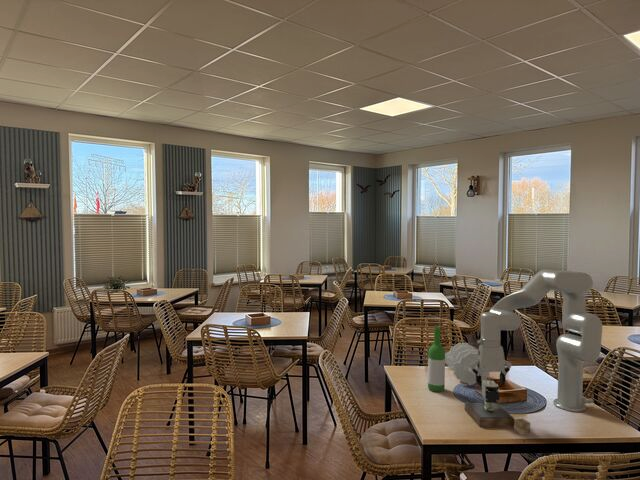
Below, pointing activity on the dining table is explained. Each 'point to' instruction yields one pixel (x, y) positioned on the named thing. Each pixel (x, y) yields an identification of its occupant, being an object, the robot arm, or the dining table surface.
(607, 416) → the dining table surface
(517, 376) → the dining table surface
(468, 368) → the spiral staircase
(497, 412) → the stand
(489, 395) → the pneumatic valve
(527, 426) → the oak block
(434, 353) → the wine bottle
